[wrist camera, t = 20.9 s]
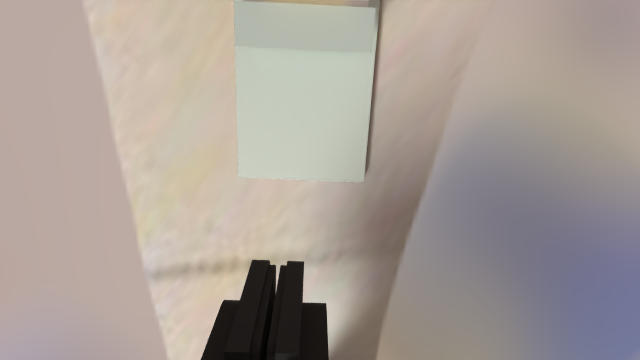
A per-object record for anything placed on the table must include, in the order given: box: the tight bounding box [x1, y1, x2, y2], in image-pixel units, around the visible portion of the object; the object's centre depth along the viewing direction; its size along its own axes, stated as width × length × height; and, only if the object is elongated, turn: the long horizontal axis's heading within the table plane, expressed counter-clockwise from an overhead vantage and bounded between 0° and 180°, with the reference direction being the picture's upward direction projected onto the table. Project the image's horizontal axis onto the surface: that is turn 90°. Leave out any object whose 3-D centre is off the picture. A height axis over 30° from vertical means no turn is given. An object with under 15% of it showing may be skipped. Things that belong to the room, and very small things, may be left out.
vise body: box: [235, 0, 380, 183], centre depth 31 cm, size 23×12×6 cm, turn 177°
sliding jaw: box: [234, 0, 376, 53], centre depth 29 cm, size 4×10×5 cm, turn 87°
